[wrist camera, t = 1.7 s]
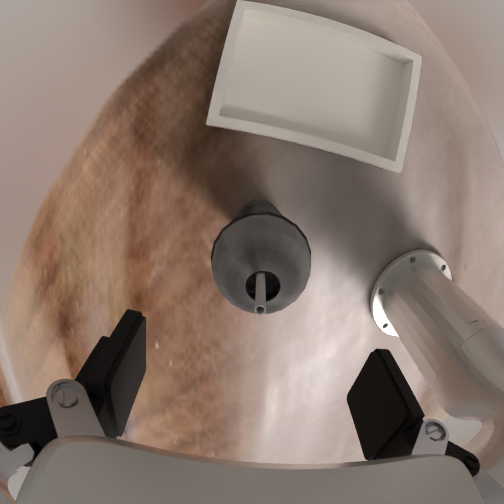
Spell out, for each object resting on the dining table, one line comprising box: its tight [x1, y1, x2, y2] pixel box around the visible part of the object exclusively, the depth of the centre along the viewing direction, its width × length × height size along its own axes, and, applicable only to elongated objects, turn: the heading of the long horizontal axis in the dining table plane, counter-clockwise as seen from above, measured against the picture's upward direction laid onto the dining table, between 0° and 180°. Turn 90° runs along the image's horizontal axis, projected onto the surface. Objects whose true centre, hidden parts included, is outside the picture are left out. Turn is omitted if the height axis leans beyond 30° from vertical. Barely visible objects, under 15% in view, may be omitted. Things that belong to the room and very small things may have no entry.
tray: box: [206, 0, 422, 174], centre depth 25 cm, size 20×14×3 cm
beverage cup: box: [211, 200, 311, 315], centre depth 23 cm, size 7×7×20 cm
